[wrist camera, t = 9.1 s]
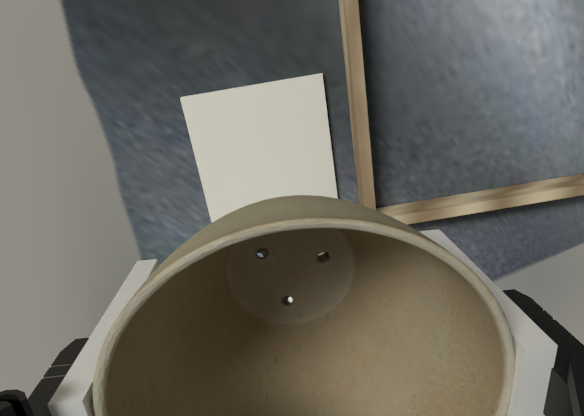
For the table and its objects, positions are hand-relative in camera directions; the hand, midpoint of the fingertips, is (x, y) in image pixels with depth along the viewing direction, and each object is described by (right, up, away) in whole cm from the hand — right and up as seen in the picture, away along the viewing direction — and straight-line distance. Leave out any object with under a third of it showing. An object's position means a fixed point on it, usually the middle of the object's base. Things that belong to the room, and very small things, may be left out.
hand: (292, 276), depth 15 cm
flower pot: (0, 0, +1) cm, 1 cm away
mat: (-3, +7, +20) cm, 21 cm away
